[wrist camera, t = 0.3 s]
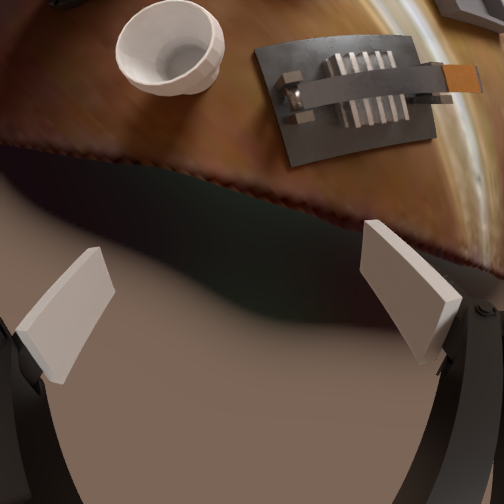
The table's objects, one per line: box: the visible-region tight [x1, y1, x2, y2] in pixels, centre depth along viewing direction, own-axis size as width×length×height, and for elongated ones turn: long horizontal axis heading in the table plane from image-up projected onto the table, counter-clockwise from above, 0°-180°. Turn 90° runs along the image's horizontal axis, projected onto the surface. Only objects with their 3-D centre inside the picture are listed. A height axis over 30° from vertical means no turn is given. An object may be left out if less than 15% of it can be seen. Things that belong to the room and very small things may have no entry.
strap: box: [284, 65, 483, 112], centre depth 22 cm, size 23×3×2 cm, turn 107°
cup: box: [116, 0, 225, 96], centre depth 24 cm, size 11×11×15 cm
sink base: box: [254, 35, 453, 167], centre depth 28 cm, size 26×18×9 cm
